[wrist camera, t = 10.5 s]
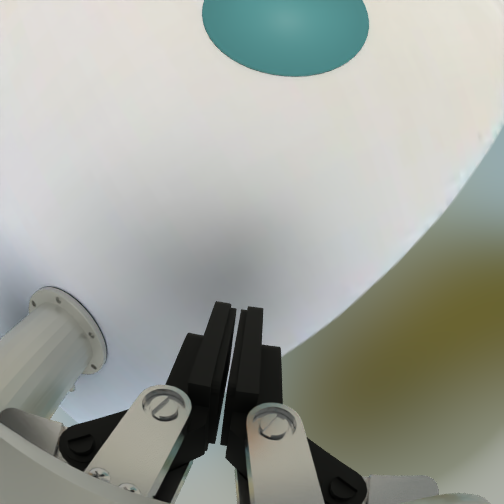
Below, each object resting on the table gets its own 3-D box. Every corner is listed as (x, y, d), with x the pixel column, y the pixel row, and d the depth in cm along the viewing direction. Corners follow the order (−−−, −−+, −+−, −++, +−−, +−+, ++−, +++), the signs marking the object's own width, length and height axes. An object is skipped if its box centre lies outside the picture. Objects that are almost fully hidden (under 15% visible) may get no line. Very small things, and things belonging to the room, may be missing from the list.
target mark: (347, 101, 18) (347, 101, 18) (179, 55, 18) (178, 54, 17) (379, -12, 14) (379, -13, 13) (234, -51, 13) (234, -52, 13)
